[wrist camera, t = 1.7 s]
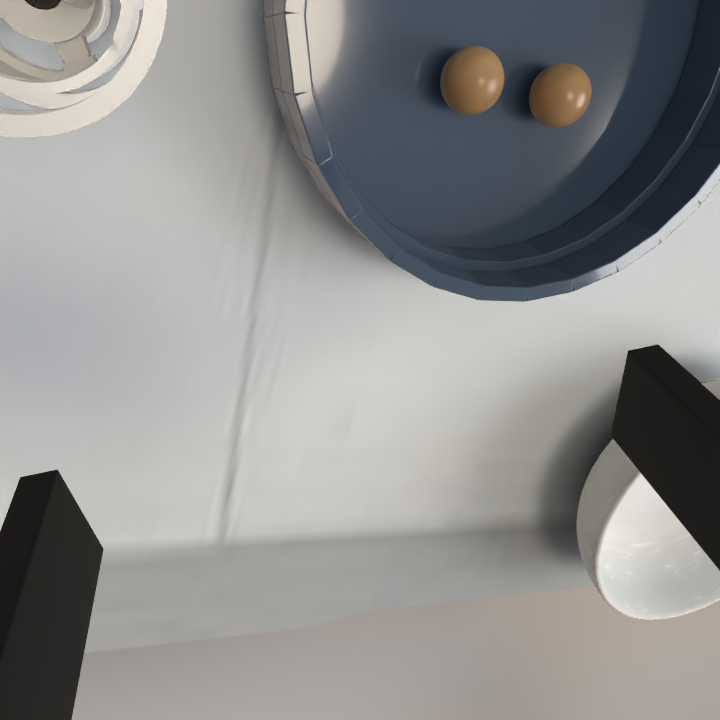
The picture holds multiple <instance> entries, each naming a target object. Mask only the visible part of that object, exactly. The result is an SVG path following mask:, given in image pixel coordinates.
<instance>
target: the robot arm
mask: <svg viewBox="0 0 720 720" xmlns="http://www.w3.org/2000/svg"><path fill="white" fill-rule="evenodd" d="M611 437H612V438H613V439H614V441H615V442H616V443H617V444H618V446H619V447H620V448H621V449H622V451H623V452H624V453H625V454H626V455H627V457H628V458H629V459H630V460H631V462H632V463H633V464H634V465H635V467H636V468H637V469H638V470H639V472H640V473H641V474H642V475H643V476H644V478H645V479H646V480H647V481H648V483H649V484H650V485H651V486H652V488H653V489H654V490H655V491H656V493H657V494H658V495H659V496H660V498H661V499H662V500H663V501H664V502H665V504H666V505H667V506H668V507H669V509H670V510H671V511H672V512H673V514H674V515H675V516H676V517H677V519H678V520H679V521H680V522H681V524H682V525H683V526H684V527H685V528H686V530H687V531H688V532H689V533H690V535H691V536H692V537H693V538H694V540H695V541H696V542H697V543H698V545H699V546H700V547H701V548H702V549H703V551H704V552H705V553H706V554H707V556H708V557H709V558H710V559H711V561H712V562H713V563H714V564H715V566H716V567H717V568H718V569H719V571H720V400H719V399H718V398H717V397H716V396H715V395H714V394H713V393H711V392H710V391H709V390H708V389H707V388H706V387H705V386H704V385H702V384H701V383H700V382H699V381H698V380H697V379H696V378H695V377H694V376H692V375H691V374H690V373H689V372H688V371H687V370H686V369H685V368H684V367H682V366H681V365H680V364H679V363H678V362H677V361H676V360H675V359H674V358H672V357H671V356H670V355H669V354H668V353H667V352H666V351H665V350H664V349H662V348H661V347H660V346H659V345H654V346H649V347H644V348H640V349H635V350H630V351H628V354H627V359H626V364H625V369H624V373H623V378H622V383H621V388H620V393H619V397H618V402H617V407H616V412H615V417H614V421H613V426H612V431H611ZM102 554H103V547H102V546H101V544H100V542H99V540H98V539H97V537H96V535H95V534H94V532H93V530H92V528H91V527H90V525H89V523H88V521H87V520H86V518H85V516H84V515H83V513H82V511H81V509H80V508H79V506H78V504H77V502H76V501H75V499H74V497H73V496H72V494H71V492H70V490H69V489H68V487H67V485H66V483H65V482H64V480H63V478H62V477H61V475H60V473H59V471H58V470H53V471H48V472H44V473H39V474H34V475H29V476H24V477H20V480H19V483H18V485H17V488H16V491H15V493H14V496H13V499H12V501H11V504H10V507H9V510H8V512H7V515H6V518H5V520H4V523H3V526H2V529H1V531H0V720H71V718H72V713H73V708H74V703H75V697H76V692H77V687H78V681H79V676H80V671H81V665H82V660H83V655H84V649H85V644H86V639H87V633H88V628H89V623H90V618H91V612H92V607H93V602H94V596H95V591H96V586H97V580H98V575H99V570H100V564H101V559H102Z"/></svg>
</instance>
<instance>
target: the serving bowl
mask: <svg viewBox="0 0 720 720" xmlns="http://www.w3.org/2000/svg"><path fill="white" fill-rule="evenodd" d="M701 384H702V385H704V386H705V387H706V388H707V389H708V390H709V391H710V392H711V393H713V394H714V395H715V396H716V397H717V398H718V399H719V400H720V380H716V381H710V382H705V383H701ZM577 539H578V545H579V550H580V554H581V557H582V560H583V563H584V565H585V568H586V570H587V572H588V574H589V576H590V578H591V580H592V582H593V583H594V585H595V587H596V588H597V590H598V591H599V593H600V594H601V596H602V597H603V599H604V600H605V601H606V602H607V603H608V604H609V605H610V606H611V607H612V608H613V609H615V610H616V611H618V612H619V613H622V614H624V615H626V616H629V617H632V618H636V619H642V620H659V619H666V618H673V617H677V616H681V615H685V614H688V613H691V612H694V611H696V610H699V609H702V608H704V607H706V606H709V605H711V604H713V603H715V602H717V601H719V600H720V571H719V569H718V568H717V567H716V566H715V564H714V563H713V562H712V561H711V559H710V558H709V557H708V556H707V554H706V553H705V552H704V551H703V549H702V548H701V547H700V546H699V545H698V543H697V542H696V541H695V540H694V538H693V537H692V536H691V535H690V533H689V532H688V531H687V530H686V528H685V527H684V526H683V525H682V524H681V522H680V521H679V520H678V519H677V517H676V516H675V515H674V514H673V512H672V511H671V510H670V509H669V507H668V506H667V505H666V504H665V502H664V501H663V500H662V499H661V498H660V496H659V495H658V494H657V493H656V491H655V490H654V489H653V488H652V486H651V485H650V484H649V483H648V481H647V480H646V479H645V478H644V476H643V475H642V474H641V473H640V472H639V470H638V469H637V468H636V467H635V465H634V464H633V463H632V462H631V460H630V459H629V458H628V457H627V455H626V454H625V453H624V452H623V451H622V449H621V448H620V447H619V446H618V444H617V443H616V442H615V441H614V439H612V440H611V441H610V443H609V444H608V445H607V446H606V447H605V449H604V450H603V452H602V453H601V455H600V456H599V457H598V459H597V461H596V462H595V464H594V466H593V467H592V469H591V471H590V473H589V475H588V477H587V480H586V482H585V485H584V488H583V490H582V494H581V497H580V501H579V506H578V512H577Z"/></svg>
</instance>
